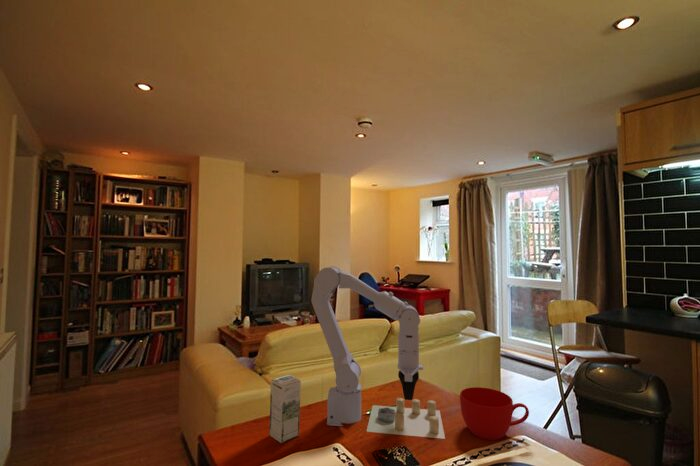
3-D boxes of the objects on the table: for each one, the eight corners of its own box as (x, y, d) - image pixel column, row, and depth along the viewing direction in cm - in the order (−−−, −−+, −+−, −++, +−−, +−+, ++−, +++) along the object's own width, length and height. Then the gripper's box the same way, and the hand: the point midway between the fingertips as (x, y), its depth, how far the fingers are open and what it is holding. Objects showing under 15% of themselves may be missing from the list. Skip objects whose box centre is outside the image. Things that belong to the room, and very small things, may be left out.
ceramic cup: (537, 454, 82) (536, 411, 82) (463, 446, 85) (462, 404, 86) (522, 427, 94) (521, 390, 95) (458, 421, 98) (457, 385, 98)
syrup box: (287, 427, 94) (288, 373, 95) (300, 436, 89) (300, 379, 90) (268, 435, 90) (269, 378, 91) (281, 444, 85) (282, 384, 86)
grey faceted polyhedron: (381, 423, 94) (381, 416, 94) (374, 416, 98) (374, 409, 98) (398, 420, 96) (398, 413, 96) (391, 413, 100) (391, 406, 100)
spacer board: (366, 435, 90) (366, 417, 90) (372, 408, 106) (372, 393, 106) (445, 442, 87) (445, 424, 87) (439, 413, 102) (439, 398, 103)
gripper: (424, 358, 89) (424, 411, 89) (422, 343, 104) (422, 390, 103) (396, 356, 91) (396, 409, 90) (398, 342, 105) (398, 388, 104)
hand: (408, 398), depth 96 cm, fingers closed
